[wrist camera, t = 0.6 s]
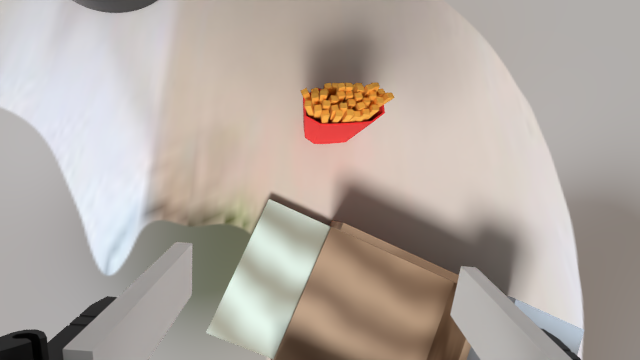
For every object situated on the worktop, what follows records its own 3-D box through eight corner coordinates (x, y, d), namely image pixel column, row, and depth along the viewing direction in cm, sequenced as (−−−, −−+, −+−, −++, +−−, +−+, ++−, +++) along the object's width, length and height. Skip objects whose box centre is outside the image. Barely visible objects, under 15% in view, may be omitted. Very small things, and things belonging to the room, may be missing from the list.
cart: (272, 193, 36) (271, 187, 27) (507, 299, 40) (584, 330, 30) (204, 336, 34) (175, 388, 24) (462, 437, 37) (529, 520, 27)
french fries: (357, 112, 39) (393, 70, 27) (360, 142, 39) (398, 113, 27) (292, 115, 38) (300, 72, 26) (294, 146, 37) (304, 117, 26)
